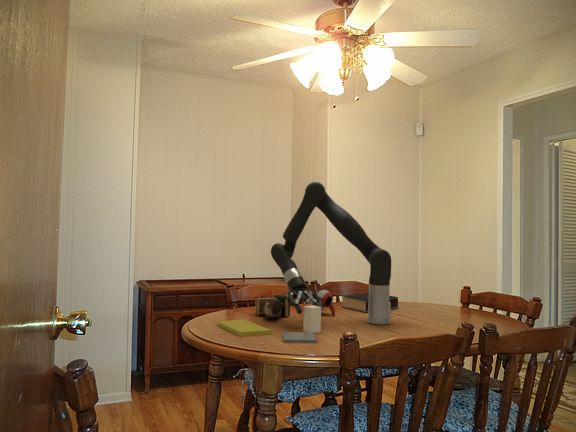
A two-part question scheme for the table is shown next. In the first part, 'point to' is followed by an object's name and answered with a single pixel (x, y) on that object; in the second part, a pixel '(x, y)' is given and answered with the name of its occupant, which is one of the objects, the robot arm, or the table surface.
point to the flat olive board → (244, 328)
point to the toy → (326, 300)
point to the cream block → (312, 319)
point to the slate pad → (299, 337)
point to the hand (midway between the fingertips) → (309, 312)
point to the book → (363, 302)
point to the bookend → (272, 306)
